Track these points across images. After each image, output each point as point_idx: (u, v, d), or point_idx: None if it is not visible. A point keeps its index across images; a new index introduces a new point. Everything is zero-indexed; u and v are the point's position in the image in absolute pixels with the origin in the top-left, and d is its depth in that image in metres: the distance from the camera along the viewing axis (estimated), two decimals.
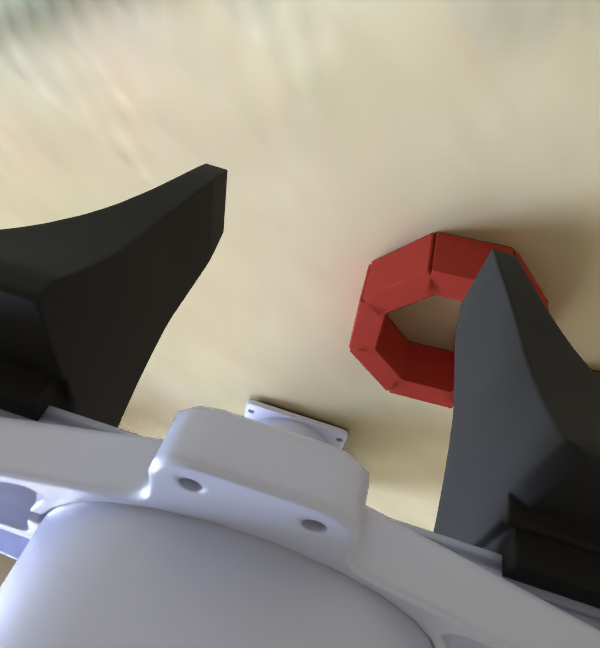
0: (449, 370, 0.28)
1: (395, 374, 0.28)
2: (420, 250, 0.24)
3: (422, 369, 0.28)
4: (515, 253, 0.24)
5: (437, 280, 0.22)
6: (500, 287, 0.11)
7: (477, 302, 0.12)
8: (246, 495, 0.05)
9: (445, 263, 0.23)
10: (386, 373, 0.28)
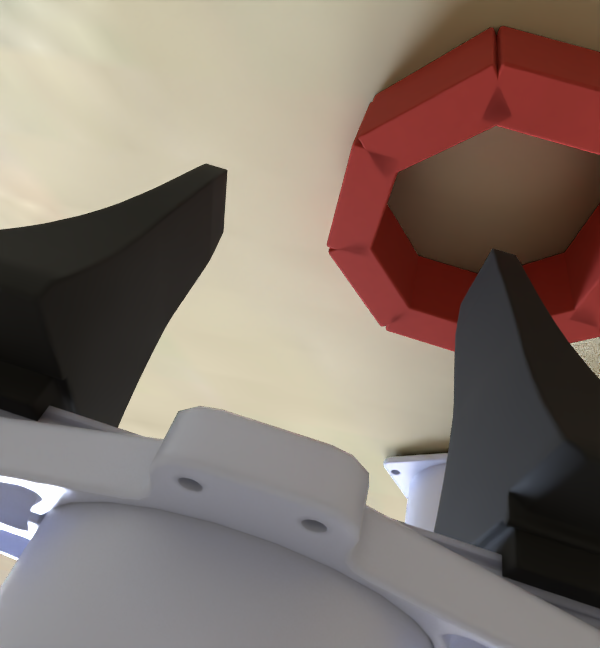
0: (563, 279, 0.16)
1: None
2: None
3: None
4: (500, 29, 0.13)
5: (379, 147, 0.13)
6: (500, 287, 0.11)
7: (477, 302, 0.12)
8: (246, 495, 0.05)
9: (378, 117, 0.13)
10: None
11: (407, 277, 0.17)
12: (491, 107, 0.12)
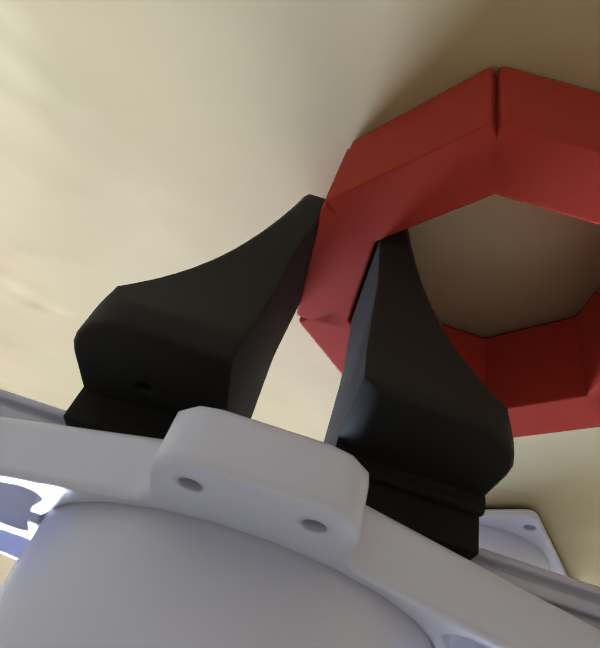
0: (574, 354, 0.14)
1: None
2: None
3: (519, 375, 0.15)
4: (500, 70, 0.11)
5: (352, 212, 0.11)
6: (377, 250, 0.11)
7: (367, 269, 0.13)
8: (246, 495, 0.05)
9: (352, 176, 0.11)
10: None
11: None
12: (488, 173, 0.10)
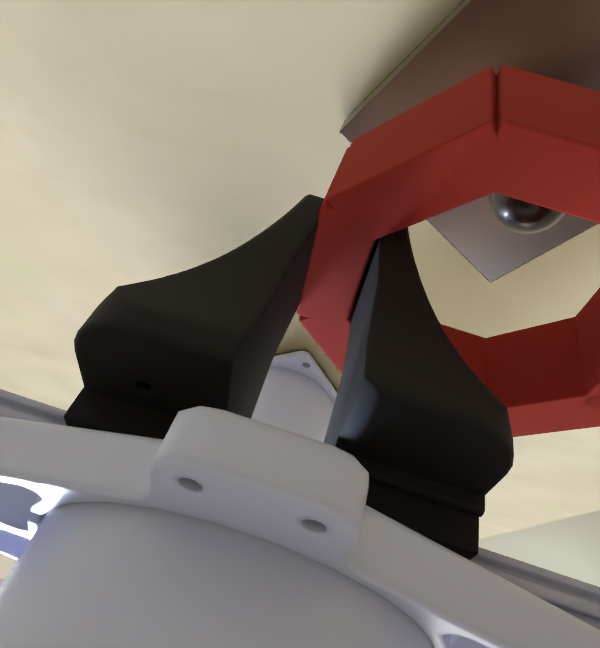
0: (573, 353, 0.14)
1: None
2: None
3: (518, 375, 0.15)
4: (500, 69, 0.11)
5: (352, 211, 0.11)
6: (377, 250, 0.11)
7: (366, 269, 0.13)
8: (246, 495, 0.05)
9: (352, 174, 0.11)
10: None
11: None
12: (488, 171, 0.10)
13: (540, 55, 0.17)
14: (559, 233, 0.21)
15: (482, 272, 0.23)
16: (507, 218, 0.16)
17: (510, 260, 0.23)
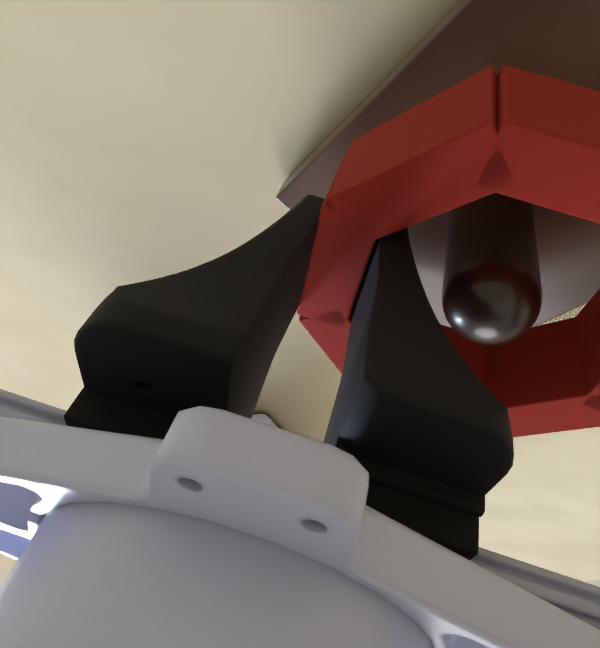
0: (574, 353, 0.14)
1: None
2: None
3: (519, 375, 0.15)
4: (501, 69, 0.11)
5: (353, 211, 0.11)
6: (377, 250, 0.11)
7: (367, 269, 0.13)
8: (246, 495, 0.05)
9: (353, 174, 0.11)
10: None
11: None
12: (489, 171, 0.10)
13: None
14: None
15: None
16: (461, 329, 0.13)
17: None
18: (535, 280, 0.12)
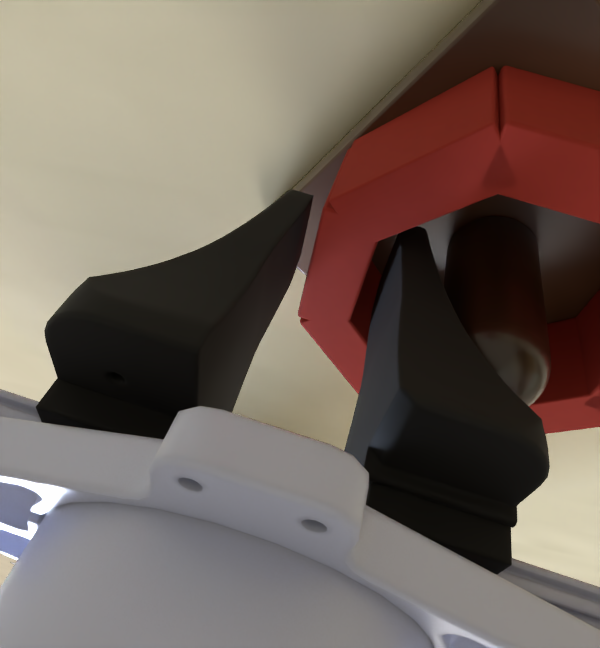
0: (575, 353, 0.14)
1: None
2: None
3: None
4: (502, 69, 0.11)
5: (354, 213, 0.11)
6: (399, 257, 0.11)
7: (386, 275, 0.13)
8: (246, 495, 0.05)
9: (354, 176, 0.11)
10: None
11: None
12: (491, 173, 0.10)
13: None
14: None
15: None
16: None
17: None
18: (543, 347, 0.11)
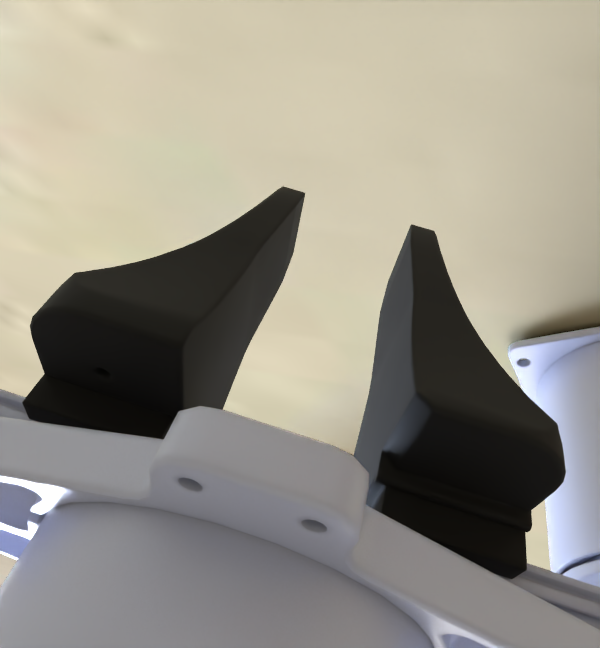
0: None
1: None
2: None
3: None
4: None
5: None
6: (409, 260, 0.11)
7: (395, 277, 0.13)
8: (246, 495, 0.05)
9: None
10: None
11: None
12: None
13: None
14: None
15: None
16: None
17: None
18: None
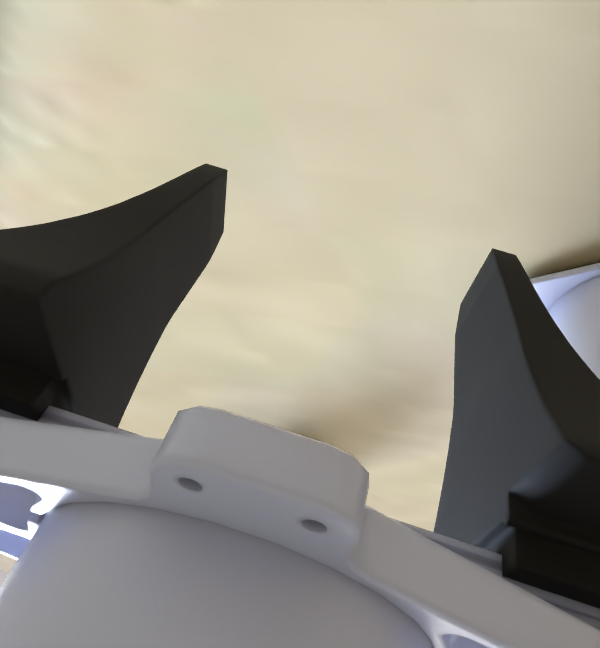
0: None
1: None
2: None
3: None
4: None
5: None
6: (500, 287, 0.11)
7: (477, 302, 0.12)
8: (246, 495, 0.05)
9: None
10: None
11: None
12: None
13: None
14: None
15: None
16: None
17: None
18: None
